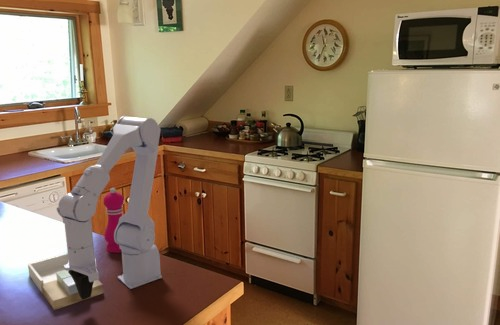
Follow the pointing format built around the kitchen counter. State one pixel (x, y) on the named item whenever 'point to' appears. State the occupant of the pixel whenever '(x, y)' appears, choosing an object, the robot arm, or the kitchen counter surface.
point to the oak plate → (65, 294)
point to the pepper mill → (113, 218)
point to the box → (47, 269)
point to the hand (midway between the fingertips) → (85, 297)
